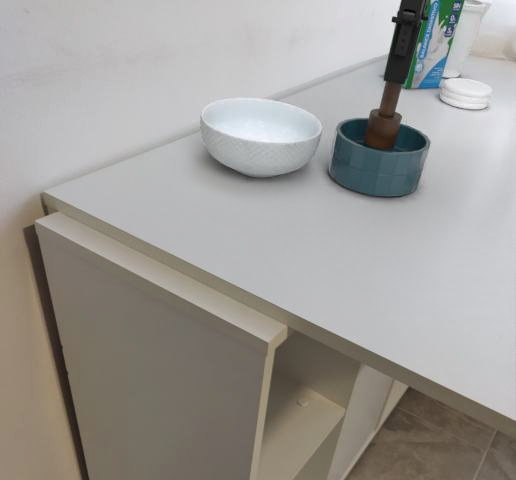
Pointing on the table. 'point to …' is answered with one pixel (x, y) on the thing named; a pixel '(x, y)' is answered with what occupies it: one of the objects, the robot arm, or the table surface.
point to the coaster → (465, 93)
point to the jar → (464, 37)
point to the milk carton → (433, 44)
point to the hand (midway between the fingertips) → (395, 78)
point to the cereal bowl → (259, 135)
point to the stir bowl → (377, 160)
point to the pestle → (384, 119)
